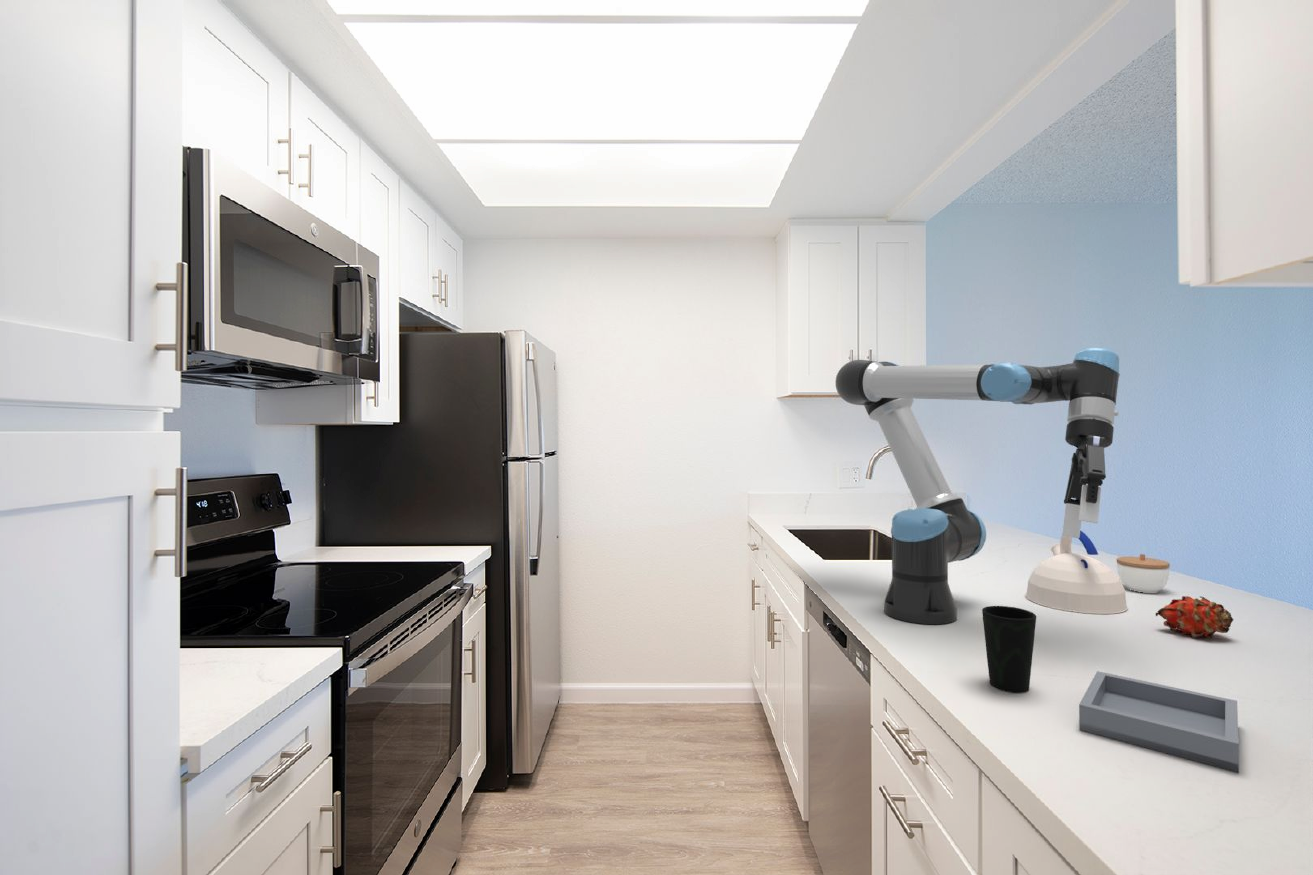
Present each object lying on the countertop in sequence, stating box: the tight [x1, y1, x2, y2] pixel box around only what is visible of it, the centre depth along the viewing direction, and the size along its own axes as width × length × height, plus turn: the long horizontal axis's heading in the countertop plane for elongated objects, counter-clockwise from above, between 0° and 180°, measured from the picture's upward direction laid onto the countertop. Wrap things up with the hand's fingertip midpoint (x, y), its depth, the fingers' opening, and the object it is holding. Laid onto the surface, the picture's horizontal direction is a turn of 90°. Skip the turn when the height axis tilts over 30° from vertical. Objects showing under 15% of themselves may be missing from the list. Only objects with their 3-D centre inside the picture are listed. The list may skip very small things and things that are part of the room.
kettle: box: [1025, 529, 1129, 615], centre depth 147 cm, size 20×21×18 cm
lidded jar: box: [1116, 553, 1171, 594], centre depth 158 cm, size 11×11×9 cm
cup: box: [981, 605, 1037, 694], centre depth 99 cm, size 8×8×12 cm
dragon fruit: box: [1155, 595, 1234, 639], centre depth 123 cm, size 8×8×12 cm
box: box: [1078, 670, 1240, 773], centre depth 85 cm, size 16×16×4 cm
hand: (1078, 529), depth 114 cm, fingers open, 13 cm apart
